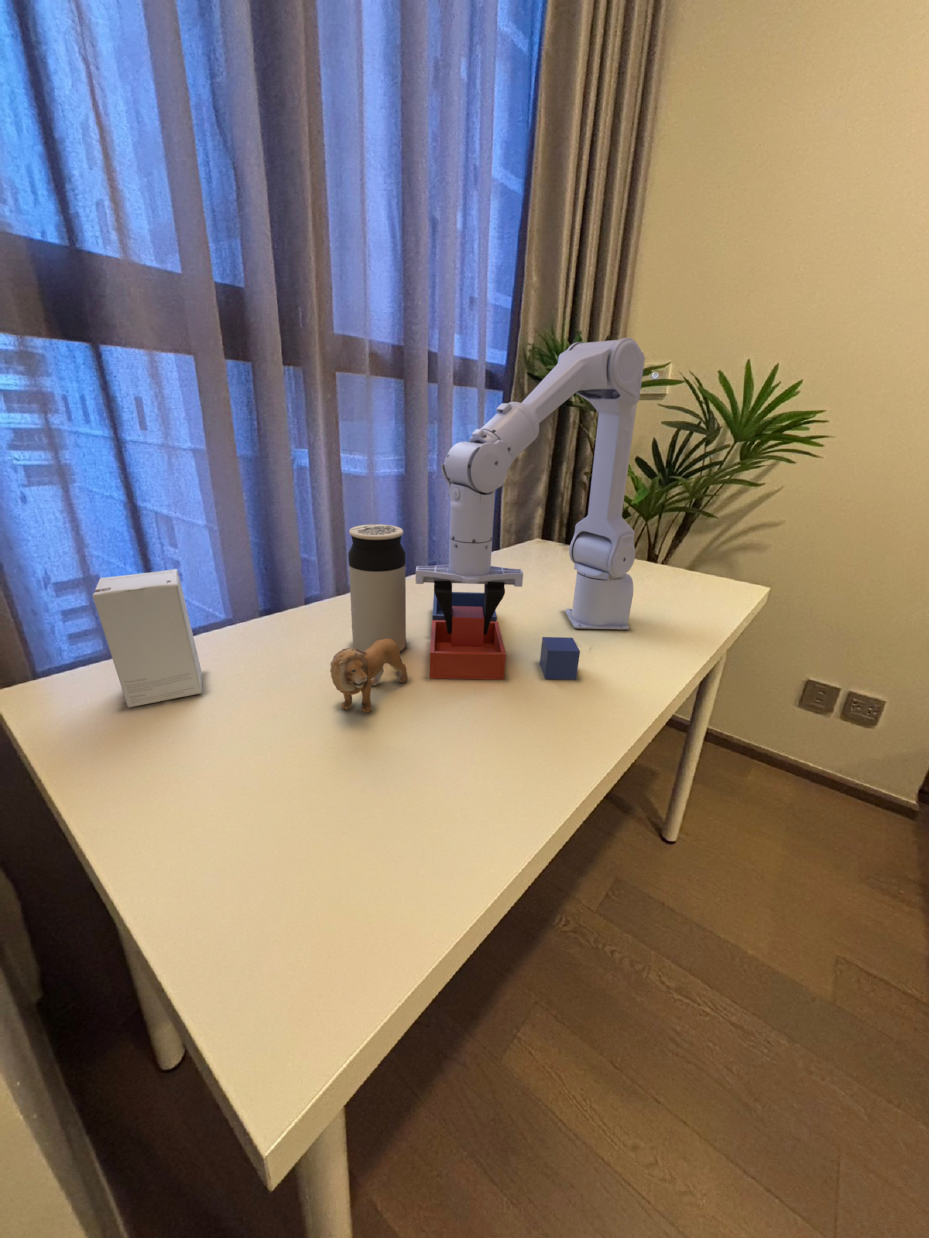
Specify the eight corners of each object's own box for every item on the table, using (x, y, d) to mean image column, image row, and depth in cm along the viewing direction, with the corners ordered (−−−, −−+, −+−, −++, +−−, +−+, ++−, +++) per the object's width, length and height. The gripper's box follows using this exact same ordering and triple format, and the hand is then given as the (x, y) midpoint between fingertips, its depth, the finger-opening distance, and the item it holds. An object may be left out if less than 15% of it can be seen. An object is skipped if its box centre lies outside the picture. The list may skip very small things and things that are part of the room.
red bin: (496, 644, 79) (498, 621, 78) (504, 679, 69) (506, 654, 67) (431, 642, 79) (432, 619, 77) (429, 678, 69) (429, 652, 67)
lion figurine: (363, 733, 57) (360, 662, 53) (322, 723, 58) (316, 653, 55) (414, 673, 70) (414, 613, 66) (379, 666, 71) (377, 607, 67)
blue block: (569, 664, 74) (572, 637, 72) (576, 679, 70) (580, 651, 68) (539, 664, 74) (542, 636, 72) (544, 679, 70) (548, 650, 68)
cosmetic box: (202, 674, 67) (182, 567, 61) (202, 696, 62) (180, 582, 56) (128, 686, 64) (99, 574, 58) (122, 710, 59) (90, 591, 53)
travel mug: (416, 647, 77) (417, 531, 70) (375, 663, 72) (370, 539, 65) (383, 631, 82) (381, 521, 75) (342, 645, 77) (335, 528, 70)
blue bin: (490, 612, 91) (491, 592, 90) (495, 639, 81) (497, 616, 79) (433, 611, 91) (434, 591, 89) (432, 638, 81) (432, 615, 79)
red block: (480, 634, 75) (482, 606, 73) (482, 647, 71) (484, 618, 69) (451, 633, 75) (452, 605, 73) (451, 646, 71) (452, 617, 69)
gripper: (414, 543, 63) (414, 642, 68) (529, 547, 63) (520, 644, 69) (417, 531, 69) (417, 621, 75) (522, 534, 70) (514, 623, 75)
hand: (466, 631), depth 72 cm, fingers closed on red block, 4 cm apart
